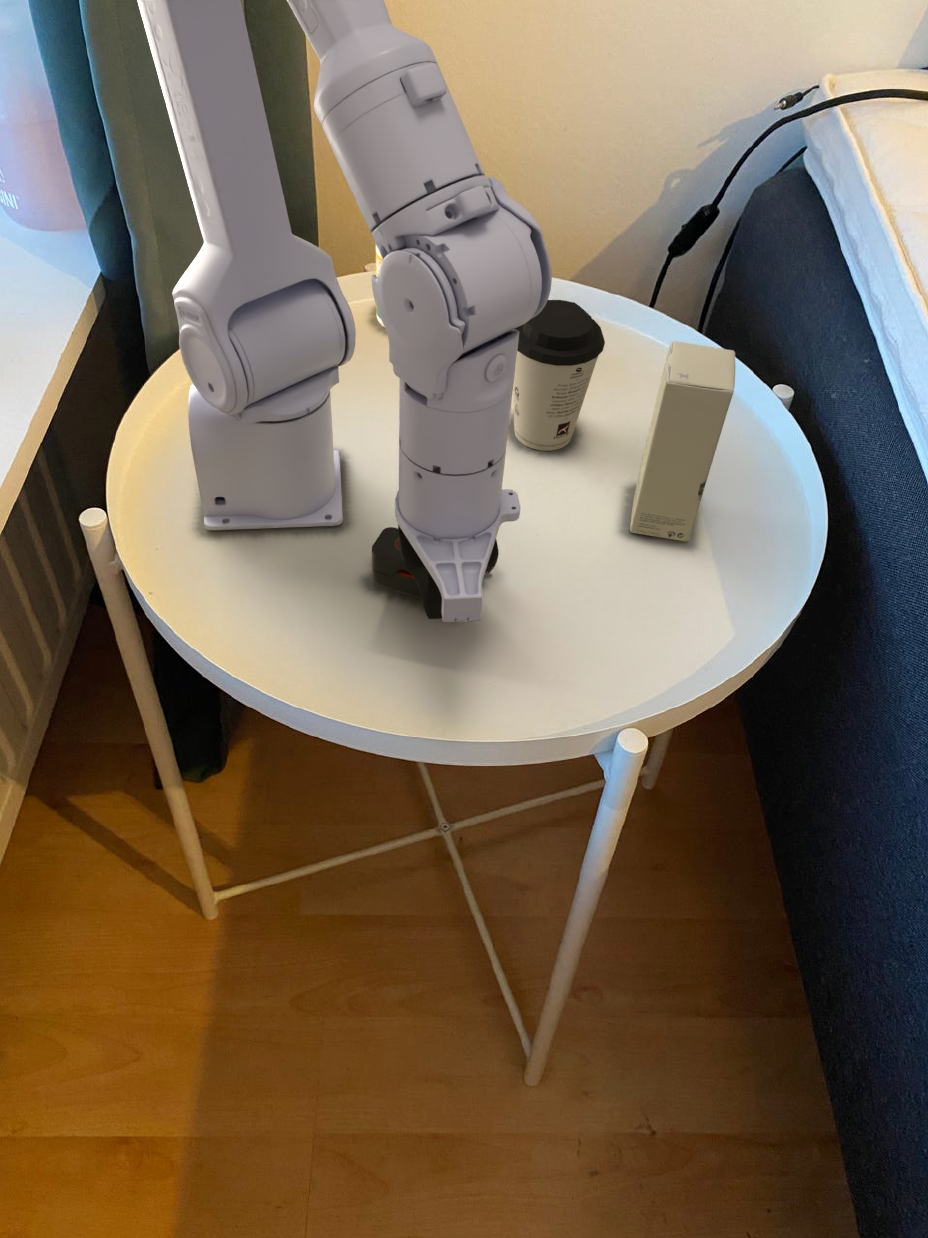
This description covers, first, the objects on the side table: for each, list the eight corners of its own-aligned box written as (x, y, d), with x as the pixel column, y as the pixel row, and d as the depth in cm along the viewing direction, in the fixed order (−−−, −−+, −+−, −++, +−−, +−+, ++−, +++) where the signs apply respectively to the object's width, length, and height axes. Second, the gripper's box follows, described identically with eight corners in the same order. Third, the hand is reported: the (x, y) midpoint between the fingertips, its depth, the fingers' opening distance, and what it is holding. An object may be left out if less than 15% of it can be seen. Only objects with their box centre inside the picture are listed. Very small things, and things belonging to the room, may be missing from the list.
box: (688, 545, 69) (736, 394, 59) (627, 534, 69) (665, 382, 60) (692, 497, 72) (738, 347, 63) (633, 487, 73) (670, 336, 63)
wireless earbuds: (469, 619, 63) (472, 584, 61) (368, 586, 64) (368, 551, 62) (493, 572, 66) (497, 538, 64) (397, 542, 67) (397, 507, 65)
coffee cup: (587, 464, 74) (609, 351, 67) (496, 456, 74) (508, 342, 67) (586, 409, 79) (607, 297, 71) (501, 401, 79) (512, 289, 71)
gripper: (550, 532, 47) (522, 699, 57) (508, 360, 57) (490, 530, 67) (405, 538, 46) (402, 706, 56) (386, 362, 56) (387, 534, 66)
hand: (442, 611), depth 62 cm, fingers closed
